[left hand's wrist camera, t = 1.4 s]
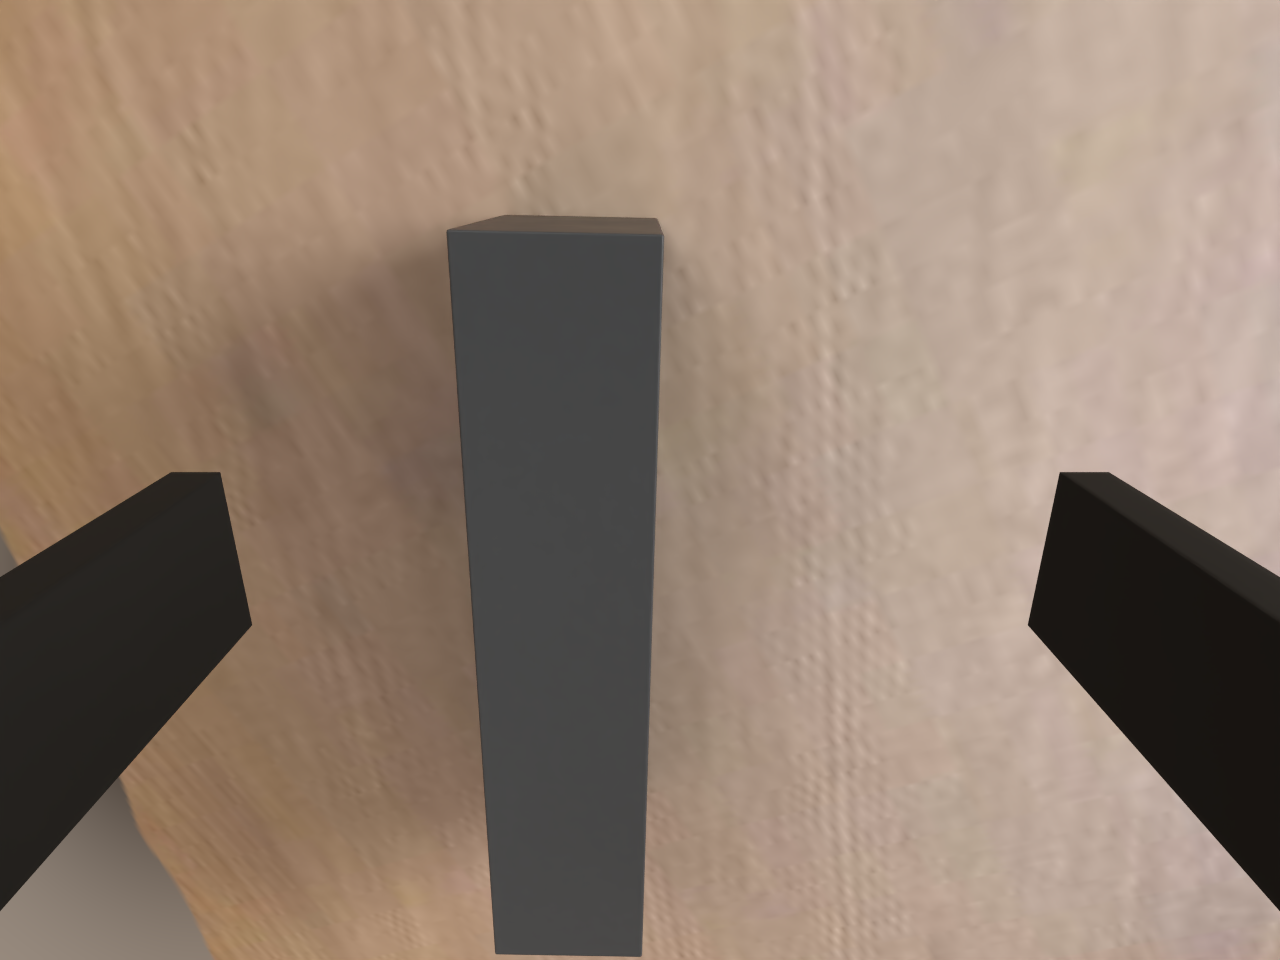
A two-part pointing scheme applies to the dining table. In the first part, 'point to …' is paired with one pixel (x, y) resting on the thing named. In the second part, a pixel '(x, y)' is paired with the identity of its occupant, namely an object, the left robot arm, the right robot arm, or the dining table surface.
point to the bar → (561, 562)
